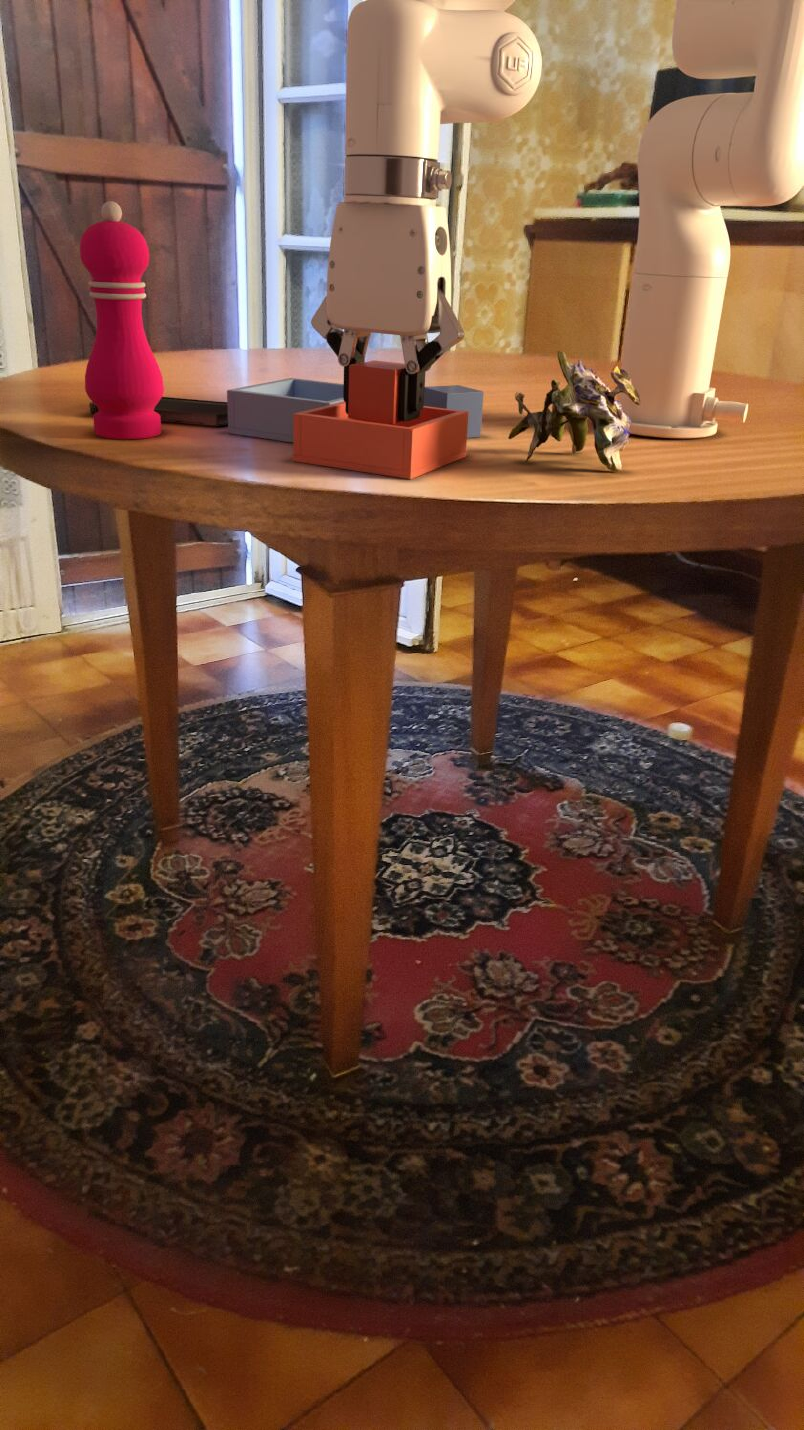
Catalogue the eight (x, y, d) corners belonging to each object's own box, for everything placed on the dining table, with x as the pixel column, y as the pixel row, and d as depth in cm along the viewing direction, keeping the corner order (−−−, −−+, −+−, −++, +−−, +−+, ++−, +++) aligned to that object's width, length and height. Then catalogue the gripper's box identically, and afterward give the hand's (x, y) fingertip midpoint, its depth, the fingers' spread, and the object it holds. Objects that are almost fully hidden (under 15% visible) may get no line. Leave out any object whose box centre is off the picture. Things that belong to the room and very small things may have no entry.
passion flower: (602, 529, 94) (646, 437, 84) (488, 499, 94) (518, 404, 83) (616, 441, 100) (658, 345, 89) (508, 413, 99) (538, 314, 89)
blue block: (480, 437, 104) (484, 391, 102) (444, 440, 102) (447, 393, 100) (455, 429, 107) (458, 385, 105) (419, 432, 105) (421, 386, 103)
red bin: (465, 456, 95) (468, 411, 93) (410, 479, 85) (412, 429, 84) (357, 441, 99) (357, 397, 98) (293, 461, 90) (292, 413, 88)
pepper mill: (176, 429, 101) (163, 204, 92) (153, 442, 95) (137, 202, 86) (105, 424, 102) (86, 200, 93) (77, 438, 95) (54, 198, 86)
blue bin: (386, 430, 105) (388, 389, 103) (329, 448, 96) (329, 403, 94) (291, 417, 110) (291, 377, 108) (227, 433, 100) (226, 390, 98)
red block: (416, 417, 92) (418, 365, 90) (393, 424, 88) (395, 370, 86) (372, 411, 93) (373, 360, 91) (347, 418, 90) (349, 364, 88)
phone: (120, 393, 112) (249, 403, 109) (121, 404, 112) (250, 414, 109) (84, 403, 105) (221, 415, 102) (85, 415, 105) (221, 426, 102)
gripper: (504, 190, 82) (486, 421, 90) (324, 185, 89) (322, 400, 97) (467, 185, 76) (451, 433, 84) (277, 180, 83) (279, 410, 91)
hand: (382, 413), depth 91 cm, fingers closed on red block, 4 cm apart
